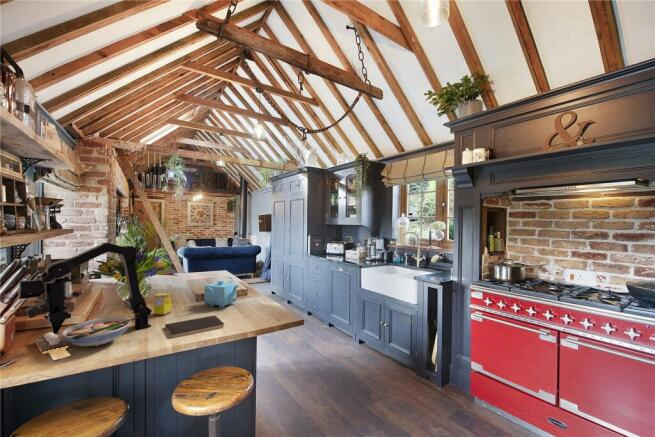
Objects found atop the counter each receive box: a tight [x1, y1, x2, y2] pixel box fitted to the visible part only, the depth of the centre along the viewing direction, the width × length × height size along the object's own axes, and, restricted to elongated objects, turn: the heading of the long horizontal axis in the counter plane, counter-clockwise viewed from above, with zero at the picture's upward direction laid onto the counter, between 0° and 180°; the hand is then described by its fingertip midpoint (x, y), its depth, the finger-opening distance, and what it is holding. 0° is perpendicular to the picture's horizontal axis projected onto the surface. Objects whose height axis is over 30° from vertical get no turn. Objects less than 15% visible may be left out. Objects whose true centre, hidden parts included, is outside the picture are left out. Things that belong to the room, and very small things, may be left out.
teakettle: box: [203, 279, 241, 309], centre depth 179 cm, size 19×19×15 cm
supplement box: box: [153, 292, 172, 317], centre depth 162 cm, size 6×6×11 cm
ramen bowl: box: [61, 316, 139, 347], centre depth 123 cm, size 25×23×8 cm
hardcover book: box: [164, 315, 225, 339], centre depth 142 cm, size 16×23×2 cm
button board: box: [34, 331, 71, 352], centre depth 121 cm, size 17×8×2 cm, turn 52°
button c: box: [43, 331, 55, 340], centre depth 124 cm, size 3×3×2 cm
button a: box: [49, 338, 61, 346], centre depth 118 cm, size 3×3×2 cm
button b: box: [46, 335, 58, 343], centre depth 121 cm, size 3×3×2 cm
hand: (55, 333), depth 118 cm, fingers closed
